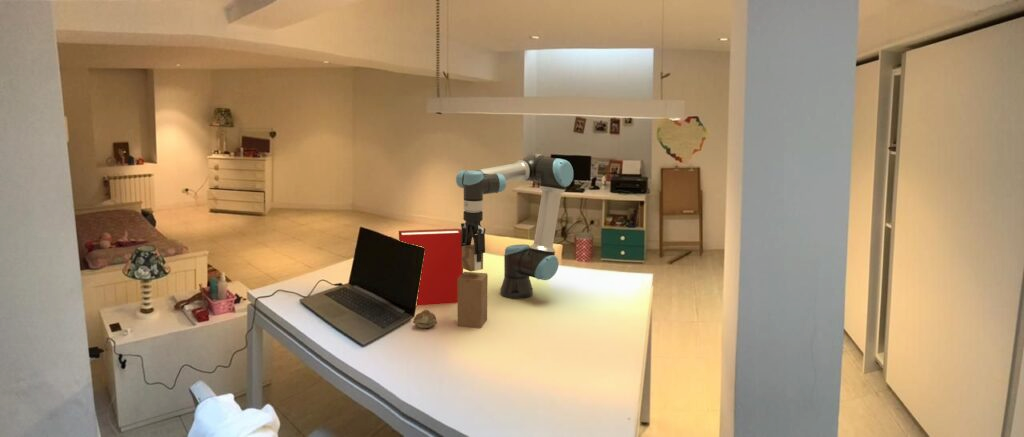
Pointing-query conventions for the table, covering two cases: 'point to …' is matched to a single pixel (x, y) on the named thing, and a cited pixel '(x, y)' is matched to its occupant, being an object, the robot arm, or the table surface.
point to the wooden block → (472, 299)
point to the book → (438, 264)
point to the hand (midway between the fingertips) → (472, 267)
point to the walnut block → (469, 258)
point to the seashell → (425, 319)
